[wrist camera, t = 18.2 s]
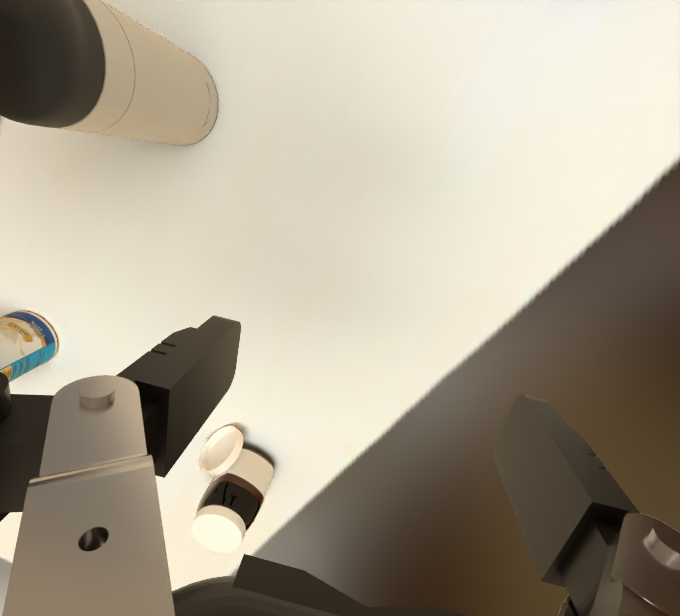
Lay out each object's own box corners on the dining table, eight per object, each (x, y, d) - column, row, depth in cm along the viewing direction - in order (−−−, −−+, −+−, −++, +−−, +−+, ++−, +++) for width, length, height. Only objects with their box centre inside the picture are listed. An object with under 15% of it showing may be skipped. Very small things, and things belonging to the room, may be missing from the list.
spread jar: (253, 496, 59) (224, 569, 49) (193, 460, 58) (149, 526, 47) (291, 451, 55) (268, 519, 44) (228, 411, 54) (188, 471, 43)
